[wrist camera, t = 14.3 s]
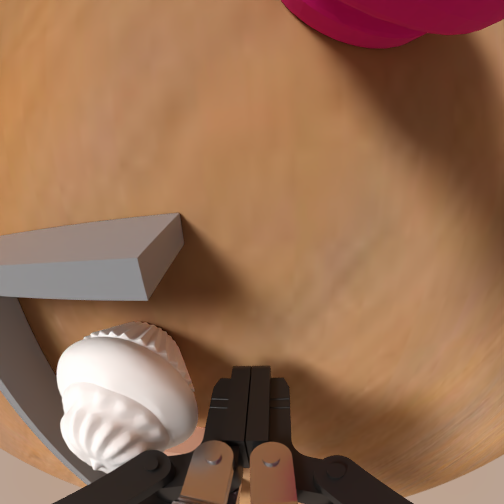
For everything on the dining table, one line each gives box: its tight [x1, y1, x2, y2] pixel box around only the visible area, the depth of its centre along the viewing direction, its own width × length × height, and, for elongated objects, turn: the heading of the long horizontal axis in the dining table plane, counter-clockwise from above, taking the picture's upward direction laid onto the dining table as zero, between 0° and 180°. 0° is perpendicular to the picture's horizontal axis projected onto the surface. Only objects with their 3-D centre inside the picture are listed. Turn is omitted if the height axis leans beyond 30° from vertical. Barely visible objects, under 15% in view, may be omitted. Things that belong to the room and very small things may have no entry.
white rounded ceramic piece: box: [57, 321, 198, 474], centre depth 10 cm, size 6×6×7 cm
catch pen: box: [0, 213, 240, 504], centre depth 13 cm, size 12×22×4 cm, turn 4°
